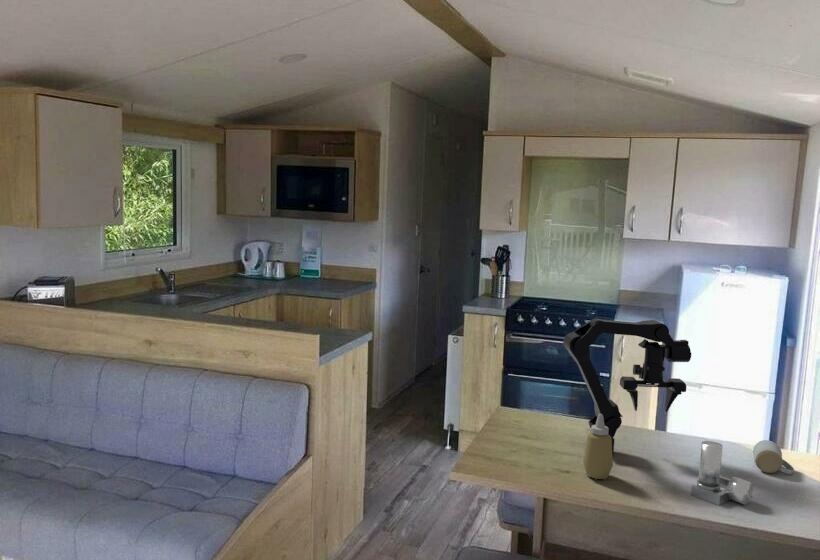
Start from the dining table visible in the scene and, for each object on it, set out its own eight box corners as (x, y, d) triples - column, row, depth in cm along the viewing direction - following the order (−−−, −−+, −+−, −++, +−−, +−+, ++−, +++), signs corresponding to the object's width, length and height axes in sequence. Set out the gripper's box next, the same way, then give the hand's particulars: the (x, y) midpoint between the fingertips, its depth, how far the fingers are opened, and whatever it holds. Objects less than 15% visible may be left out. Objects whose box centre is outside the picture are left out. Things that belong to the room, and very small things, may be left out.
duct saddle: (690, 494, 180) (692, 473, 180) (714, 482, 189) (716, 462, 188) (734, 511, 172) (736, 488, 171) (757, 497, 180) (759, 476, 179)
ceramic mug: (753, 472, 197) (756, 446, 196) (751, 462, 204) (754, 437, 203) (795, 479, 193) (798, 453, 192) (791, 468, 200) (794, 444, 199)
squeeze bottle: (596, 484, 186) (599, 420, 184) (576, 473, 193) (579, 412, 191) (618, 479, 190) (622, 417, 187) (597, 468, 197) (601, 408, 194)
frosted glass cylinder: (700, 494, 181) (705, 447, 179) (693, 485, 187) (697, 440, 185) (723, 495, 180) (727, 448, 179) (714, 486, 186) (718, 441, 185)
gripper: (676, 356, 215) (673, 404, 217) (616, 354, 216) (614, 401, 218) (688, 365, 204) (684, 415, 206) (625, 363, 205) (622, 413, 207)
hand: (650, 411), depth 209 cm, fingers open, 9 cm apart
